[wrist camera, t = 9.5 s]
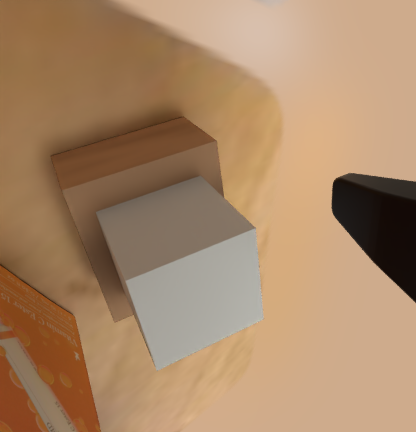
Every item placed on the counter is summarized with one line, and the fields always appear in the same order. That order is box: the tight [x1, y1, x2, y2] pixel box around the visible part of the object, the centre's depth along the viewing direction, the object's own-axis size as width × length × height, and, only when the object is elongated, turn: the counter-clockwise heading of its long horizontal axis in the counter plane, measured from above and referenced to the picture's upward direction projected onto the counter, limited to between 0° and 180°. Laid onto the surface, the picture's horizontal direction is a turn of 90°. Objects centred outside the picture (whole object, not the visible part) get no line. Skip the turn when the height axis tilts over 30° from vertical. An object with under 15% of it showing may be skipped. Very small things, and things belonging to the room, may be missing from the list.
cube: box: [96, 176, 263, 371], centre depth 17 cm, size 5×5×5 cm
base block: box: [51, 117, 224, 322], centre depth 21 cm, size 8×7×4 cm
